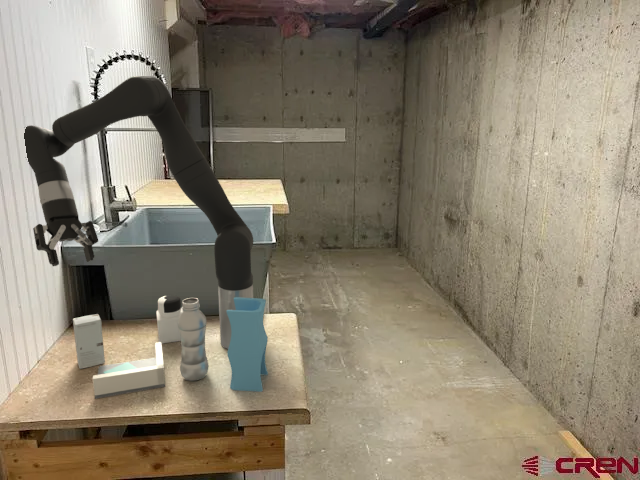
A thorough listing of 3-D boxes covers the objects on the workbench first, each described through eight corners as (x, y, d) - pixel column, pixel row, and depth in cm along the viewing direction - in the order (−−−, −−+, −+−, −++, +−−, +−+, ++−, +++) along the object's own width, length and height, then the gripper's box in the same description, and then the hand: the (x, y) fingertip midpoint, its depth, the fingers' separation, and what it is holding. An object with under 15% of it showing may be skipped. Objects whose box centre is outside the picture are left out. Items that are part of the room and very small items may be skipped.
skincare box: (79, 369, 117) (73, 325, 114) (77, 361, 121) (71, 318, 118) (106, 363, 121) (101, 319, 117) (103, 355, 124) (98, 312, 121)
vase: (236, 371, 118) (234, 297, 113) (267, 373, 118) (267, 298, 112) (228, 389, 111) (225, 311, 105) (262, 391, 110) (261, 312, 105)
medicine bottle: (183, 329, 139) (181, 291, 136) (186, 340, 133) (183, 300, 130) (158, 332, 137) (154, 294, 134) (159, 344, 130) (155, 304, 127)
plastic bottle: (178, 372, 117) (173, 297, 112) (206, 367, 120) (202, 293, 114) (182, 386, 111) (177, 308, 106) (211, 380, 114) (207, 304, 108)
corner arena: (162, 359, 123) (161, 341, 122) (165, 386, 111) (163, 367, 110) (99, 368, 118) (97, 350, 117) (95, 398, 106) (92, 379, 105)
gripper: (34, 197, 112) (50, 262, 111) (92, 196, 124) (108, 255, 122) (21, 208, 117) (37, 271, 115) (79, 206, 128) (93, 263, 127)
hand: (73, 263), depth 119 cm, fingers open, 8 cm apart
